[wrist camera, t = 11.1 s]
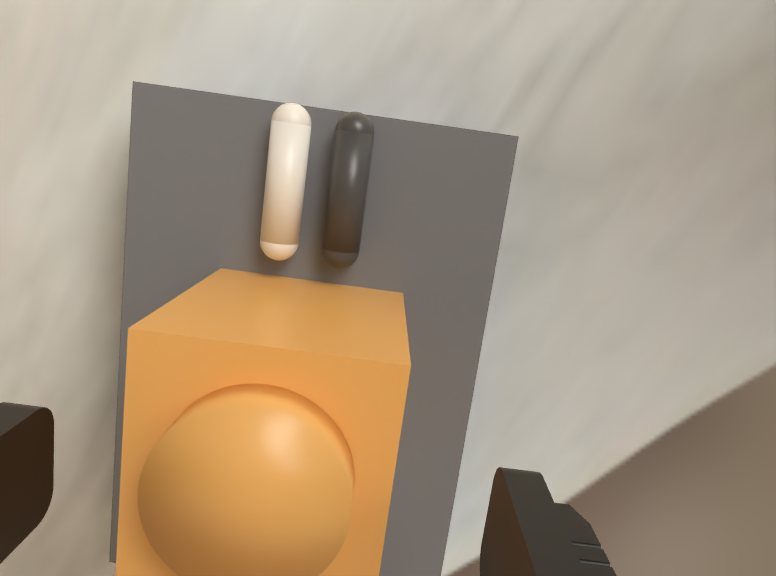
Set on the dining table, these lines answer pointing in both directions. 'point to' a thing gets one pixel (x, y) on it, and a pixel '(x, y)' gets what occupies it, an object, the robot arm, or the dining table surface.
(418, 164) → the button control panel
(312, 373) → the orange domed cube
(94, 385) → the dining table surface
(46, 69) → the dining table surface
